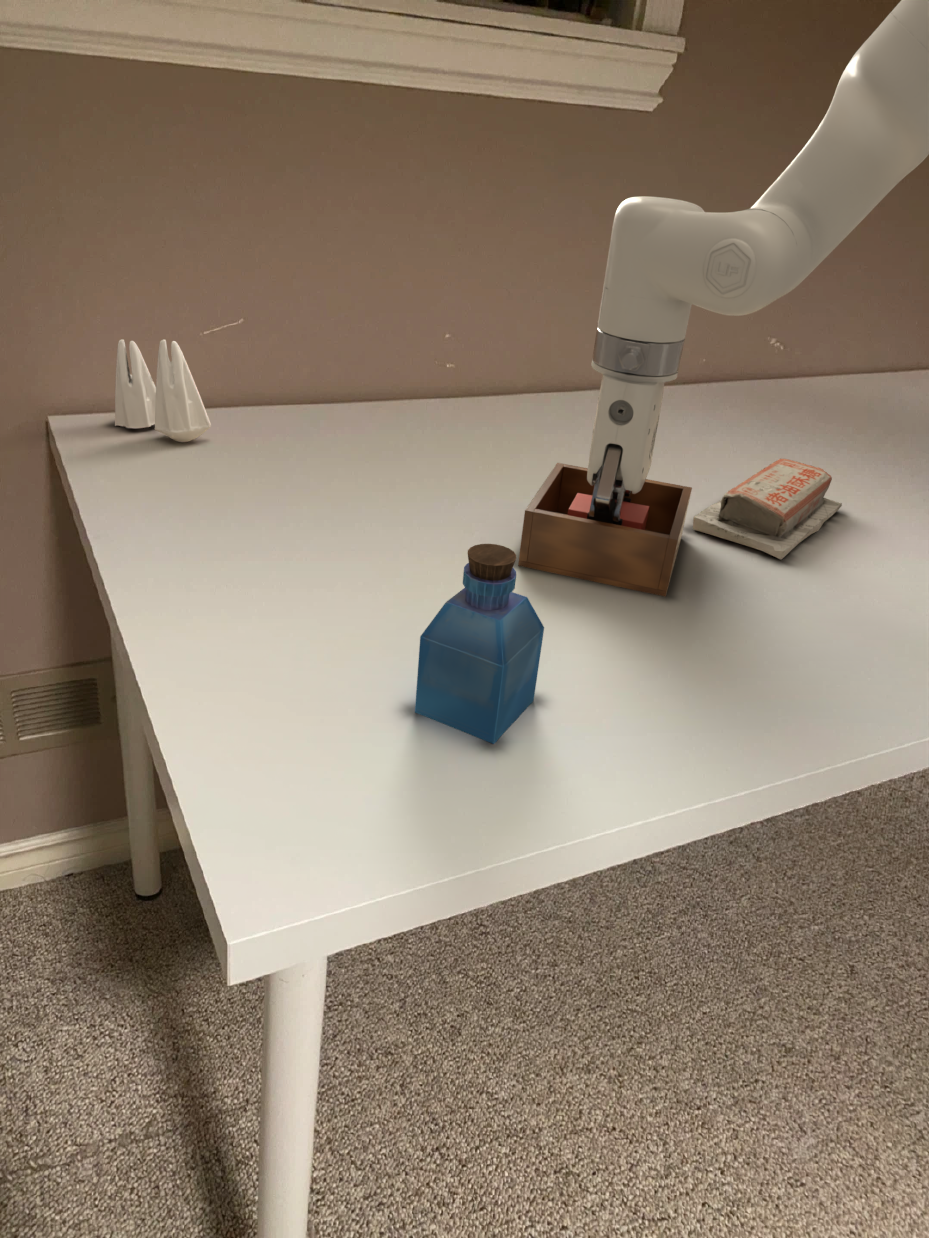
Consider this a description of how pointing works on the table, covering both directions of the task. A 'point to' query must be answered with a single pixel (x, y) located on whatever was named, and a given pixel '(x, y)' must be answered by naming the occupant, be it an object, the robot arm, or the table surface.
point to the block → (630, 514)
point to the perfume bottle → (481, 650)
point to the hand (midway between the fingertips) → (603, 542)
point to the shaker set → (158, 394)
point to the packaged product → (772, 508)
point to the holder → (604, 534)
